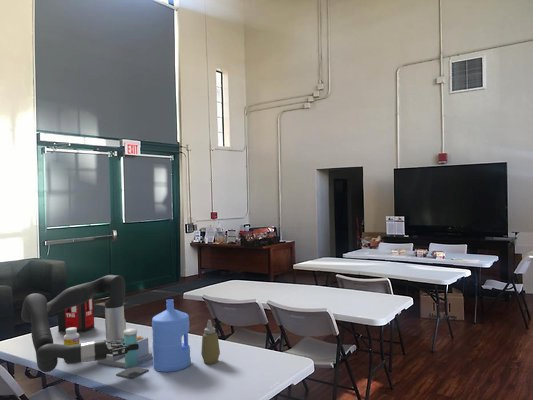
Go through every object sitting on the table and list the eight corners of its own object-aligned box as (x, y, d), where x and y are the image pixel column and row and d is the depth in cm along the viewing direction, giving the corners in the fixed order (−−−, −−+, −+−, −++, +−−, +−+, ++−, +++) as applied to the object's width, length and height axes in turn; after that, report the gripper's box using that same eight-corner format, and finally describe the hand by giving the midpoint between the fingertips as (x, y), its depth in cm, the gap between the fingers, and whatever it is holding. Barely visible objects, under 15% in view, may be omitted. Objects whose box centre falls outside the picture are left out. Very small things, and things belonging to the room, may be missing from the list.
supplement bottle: (73, 359, 198) (72, 331, 198) (61, 358, 199) (60, 330, 199) (82, 354, 204) (81, 326, 204) (70, 353, 206) (69, 326, 206)
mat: (132, 367, 185) (132, 366, 185) (148, 370, 180) (148, 369, 180) (116, 375, 177) (116, 374, 177) (132, 379, 173) (132, 377, 173)
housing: (121, 352, 205) (120, 333, 205) (152, 357, 196) (151, 337, 196) (97, 362, 192) (96, 342, 193) (129, 368, 184) (128, 347, 184)
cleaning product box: (94, 327, 249) (93, 292, 249) (85, 332, 240) (84, 296, 240) (68, 327, 252) (66, 292, 252) (58, 331, 243) (57, 296, 243)
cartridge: (131, 361, 182) (130, 327, 182) (141, 363, 179) (140, 329, 180) (121, 366, 177) (120, 331, 177) (131, 368, 175) (130, 332, 175)
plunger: (137, 346, 197) (136, 335, 197) (142, 347, 196) (142, 336, 196) (131, 349, 194) (130, 337, 194) (137, 350, 192) (136, 338, 192)
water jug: (158, 375, 175) (155, 306, 175) (149, 363, 189) (147, 299, 189) (195, 367, 182) (193, 300, 182) (184, 356, 196) (182, 294, 196)
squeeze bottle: (223, 359, 191) (221, 318, 191) (215, 366, 183) (213, 323, 183) (206, 357, 193) (205, 317, 193) (198, 364, 186) (196, 322, 186)
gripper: (93, 355, 179) (136, 348, 186) (94, 366, 166) (140, 359, 173) (92, 336, 179) (135, 330, 186) (93, 346, 166) (139, 340, 173)
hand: (137, 344), depth 179 cm, fingers closed on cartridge, 4 cm apart
